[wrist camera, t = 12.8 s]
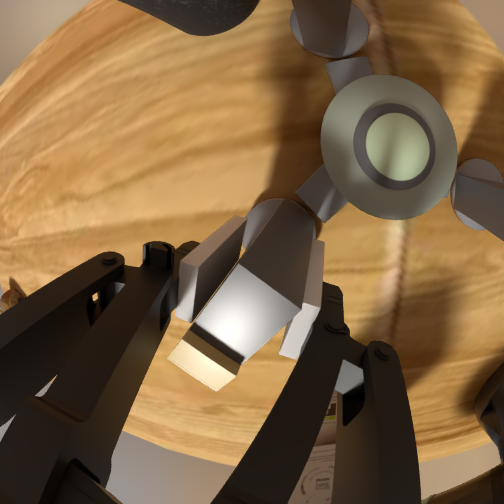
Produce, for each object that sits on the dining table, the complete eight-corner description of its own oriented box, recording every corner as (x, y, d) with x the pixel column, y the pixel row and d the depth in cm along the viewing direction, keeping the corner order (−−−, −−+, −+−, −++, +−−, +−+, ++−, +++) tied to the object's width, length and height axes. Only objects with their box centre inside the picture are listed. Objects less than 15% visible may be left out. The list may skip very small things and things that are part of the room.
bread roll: (21, 278, 41) (-6, 292, 36) (22, 291, 34) (-10, 307, 29) (38, 318, 44) (12, 332, 39) (43, 336, 38) (13, 352, 32)
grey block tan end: (271, 182, 18) (192, 241, 8) (331, 228, 18) (333, 345, 8) (231, 238, 20) (139, 337, 10) (286, 279, 21) (244, 408, 10)
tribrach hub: (468, 152, 14) (523, 162, 7) (383, 265, 19) (404, 318, 12) (341, 46, 13) (347, 1, 7) (255, 170, 18) (221, 184, 12)
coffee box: (297, 386, 25) (262, 529, 11) (359, 378, 23) (351, 532, 9) (313, 428, 28) (290, 541, 14) (364, 423, 26) (355, 540, 11)
